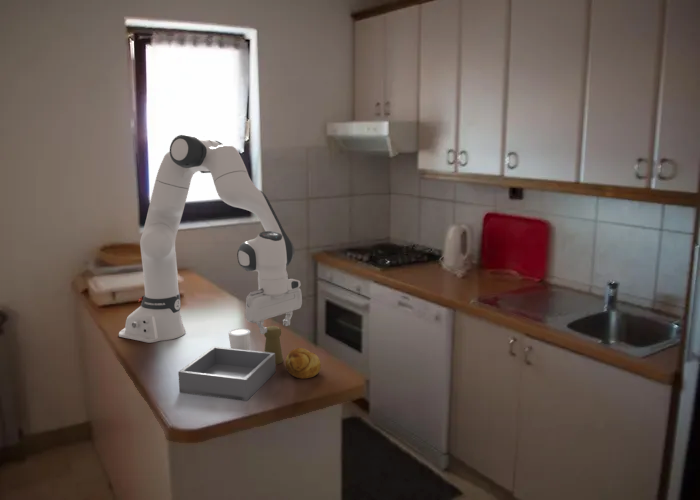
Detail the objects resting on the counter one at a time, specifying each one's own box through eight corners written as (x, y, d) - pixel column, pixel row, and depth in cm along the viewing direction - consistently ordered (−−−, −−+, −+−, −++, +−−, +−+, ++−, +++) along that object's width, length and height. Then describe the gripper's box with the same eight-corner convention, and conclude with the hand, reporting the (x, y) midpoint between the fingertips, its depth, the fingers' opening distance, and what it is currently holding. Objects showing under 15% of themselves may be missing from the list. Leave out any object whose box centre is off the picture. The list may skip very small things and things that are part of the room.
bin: (179, 392, 171) (178, 371, 169) (214, 365, 190) (213, 346, 188) (246, 401, 165) (246, 379, 164) (275, 372, 184) (275, 353, 183)
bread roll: (279, 367, 188) (279, 342, 187) (310, 362, 192) (309, 337, 190) (293, 383, 177) (292, 356, 175) (325, 378, 180) (325, 351, 179)
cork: (279, 365, 189) (278, 331, 187) (260, 364, 191) (259, 329, 188) (285, 358, 195) (284, 324, 193) (267, 356, 196) (266, 323, 194)
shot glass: (241, 357, 195) (240, 336, 194) (224, 353, 199) (223, 332, 198) (255, 351, 201) (254, 330, 200) (239, 347, 205) (238, 326, 203)
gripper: (253, 295, 179) (255, 340, 182) (304, 280, 194) (305, 322, 197) (239, 291, 183) (242, 336, 186) (290, 277, 198) (292, 319, 201)
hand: (275, 329), depth 191 cm, fingers open, 8 cm apart
